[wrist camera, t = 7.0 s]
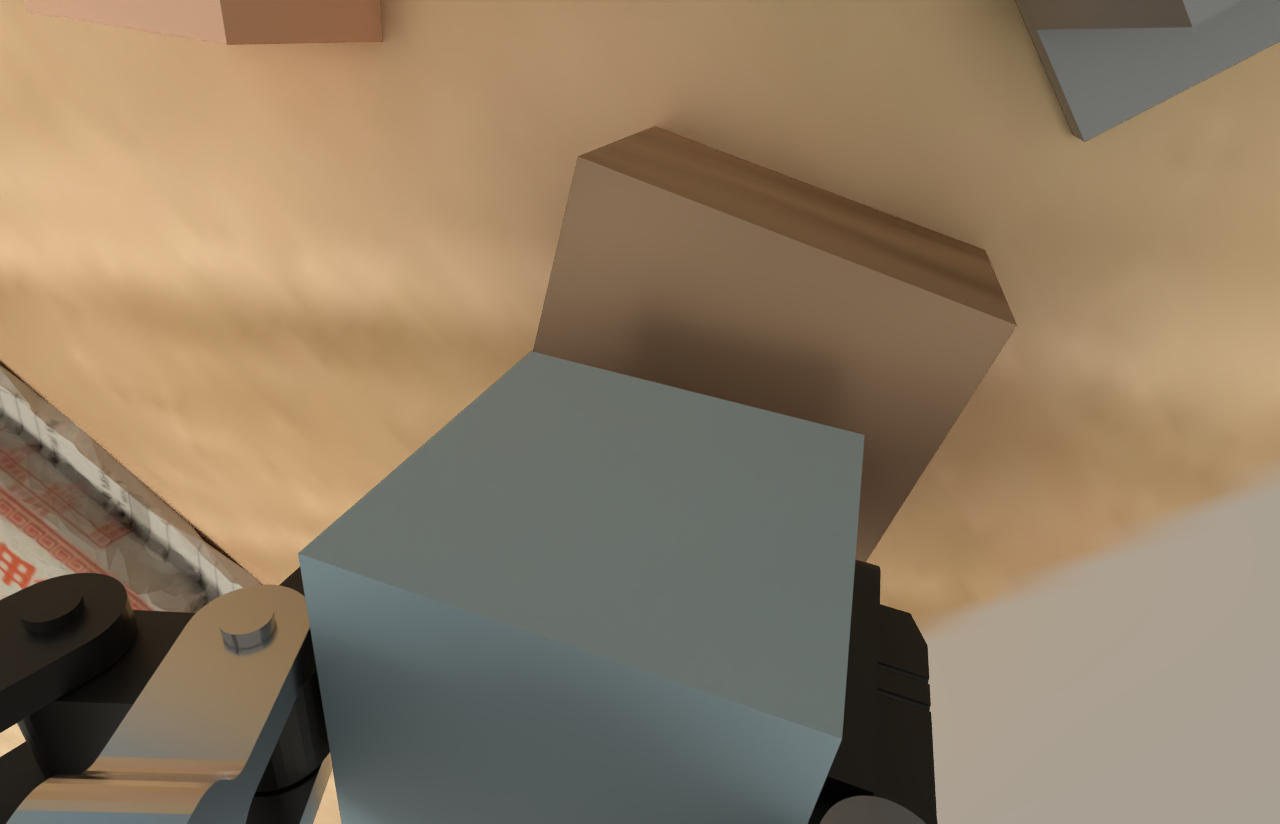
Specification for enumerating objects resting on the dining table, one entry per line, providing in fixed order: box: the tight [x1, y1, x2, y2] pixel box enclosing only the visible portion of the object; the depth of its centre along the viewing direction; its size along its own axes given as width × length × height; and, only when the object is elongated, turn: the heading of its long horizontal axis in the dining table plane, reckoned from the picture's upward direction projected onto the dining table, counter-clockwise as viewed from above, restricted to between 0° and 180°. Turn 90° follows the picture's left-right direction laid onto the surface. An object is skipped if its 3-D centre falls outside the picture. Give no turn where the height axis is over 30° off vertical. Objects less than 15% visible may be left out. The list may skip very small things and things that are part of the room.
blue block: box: [298, 351, 865, 824], centre depth 9 cm, size 5×5×5 cm
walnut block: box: [533, 127, 1017, 562], centre depth 16 cm, size 8×8×5 cm
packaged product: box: [0, 365, 262, 613], centre depth 30 cm, size 18×5×10 cm
